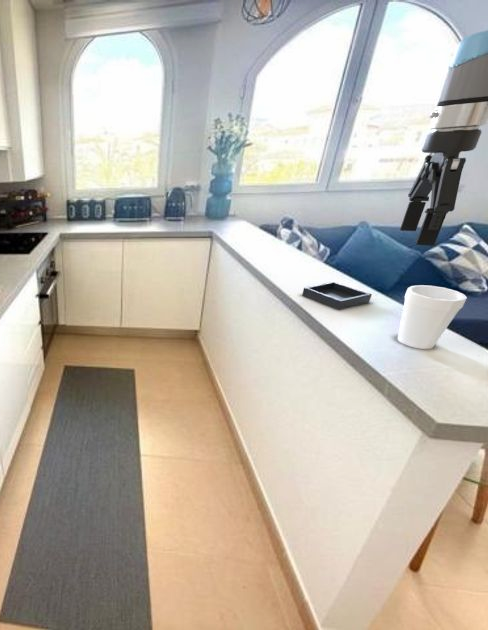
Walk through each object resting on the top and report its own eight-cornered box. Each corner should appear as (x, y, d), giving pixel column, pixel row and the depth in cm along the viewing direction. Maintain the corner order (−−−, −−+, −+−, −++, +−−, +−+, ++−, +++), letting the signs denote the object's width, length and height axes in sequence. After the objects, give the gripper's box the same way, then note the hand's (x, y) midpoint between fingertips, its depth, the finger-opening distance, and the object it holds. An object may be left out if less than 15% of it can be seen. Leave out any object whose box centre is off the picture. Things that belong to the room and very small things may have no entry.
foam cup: (415, 331, 87) (435, 283, 82) (454, 350, 79) (479, 298, 73) (379, 334, 87) (396, 287, 82) (414, 354, 79) (437, 302, 73)
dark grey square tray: (369, 302, 104) (372, 294, 102) (338, 309, 101) (340, 301, 100) (330, 289, 114) (333, 281, 113) (301, 295, 111) (303, 287, 110)
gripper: (412, 131, 79) (382, 225, 88) (450, 131, 60) (407, 250, 69) (458, 128, 75) (422, 226, 84) (514, 126, 56) (460, 253, 65)
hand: (415, 237), depth 76 cm, fingers open, 13 cm apart
